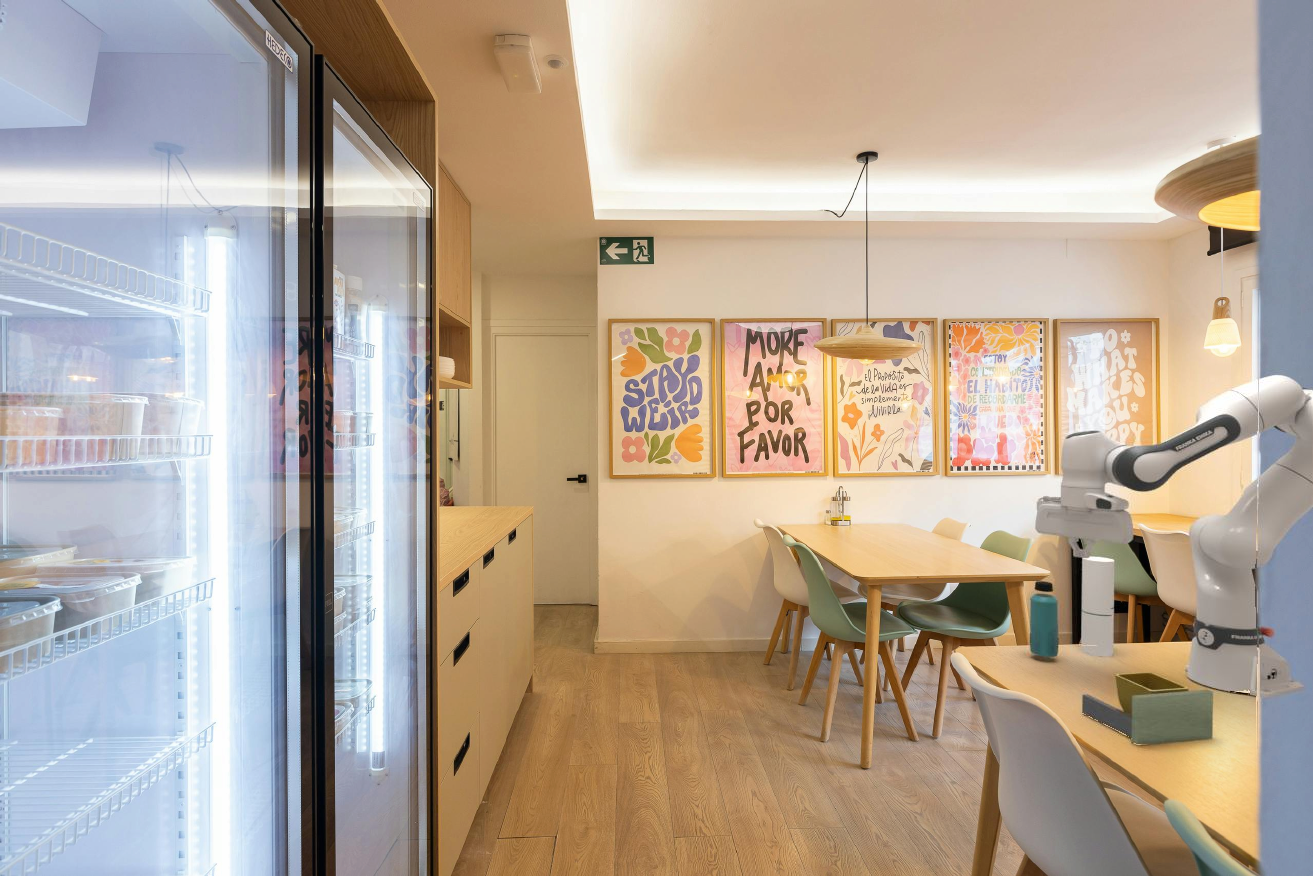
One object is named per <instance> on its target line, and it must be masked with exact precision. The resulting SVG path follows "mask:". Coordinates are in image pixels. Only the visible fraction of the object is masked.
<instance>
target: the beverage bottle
mask: <svg viewBox="0 0 1313 876" xmlns="http://www.w3.org/2000/svg"><path fill="white" fill-rule="evenodd" d="M1053 586H1054V585H1053V583H1052V582H1049V581H1041V580H1039V581H1038V580H1037V581H1035V582H1034V590H1035V591H1039V592H1041V593H1039V592H1038V593H1035V594H1033V595H1031V597H1030V599H1029V600H1030V605H1029V606H1030V609H1029V610H1030V612H1029V614H1030V616H1029V628H1030V629H1029V649H1030V653H1031V654H1033V655H1036V656H1040V657H1044V658H1055V657H1058V654H1059V651H1060V650H1059V643H1060V642H1059V618H1058V617H1059V616H1058V611H1059V610H1058V609H1059V608H1058V607H1059V606H1058V604H1059V600H1058V599H1057V598H1056V597H1055V596H1053V595H1052V594H1049V593H1052V592H1054V587H1053ZM1043 592H1044V593H1043ZM1047 593H1048V594H1047Z"/></svg>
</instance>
